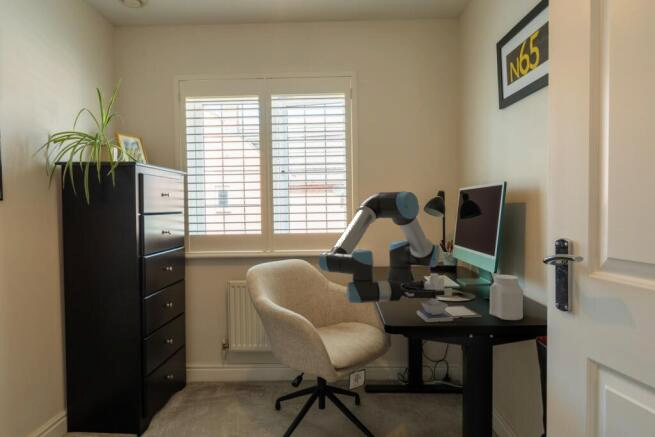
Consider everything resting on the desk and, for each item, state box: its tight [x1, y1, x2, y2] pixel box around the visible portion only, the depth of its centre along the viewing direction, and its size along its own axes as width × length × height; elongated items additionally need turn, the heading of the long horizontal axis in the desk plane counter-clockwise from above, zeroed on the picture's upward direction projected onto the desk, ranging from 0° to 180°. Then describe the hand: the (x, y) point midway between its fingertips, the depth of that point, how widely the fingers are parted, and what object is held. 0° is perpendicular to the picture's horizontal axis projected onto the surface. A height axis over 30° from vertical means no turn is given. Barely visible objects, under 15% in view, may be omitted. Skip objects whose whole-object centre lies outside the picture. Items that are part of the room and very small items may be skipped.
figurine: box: [420, 273, 449, 315], centre depth 136 cm, size 7×9×15 cm
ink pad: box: [416, 309, 454, 323], centre depth 136 cm, size 10×10×2 cm
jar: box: [489, 274, 524, 321], centre depth 137 cm, size 12×10×15 cm
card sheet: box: [444, 304, 483, 319], centre depth 143 cm, size 14×12×1 cm
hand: (445, 288), depth 136 cm, fingers closed on figurine, 9 cm apart
